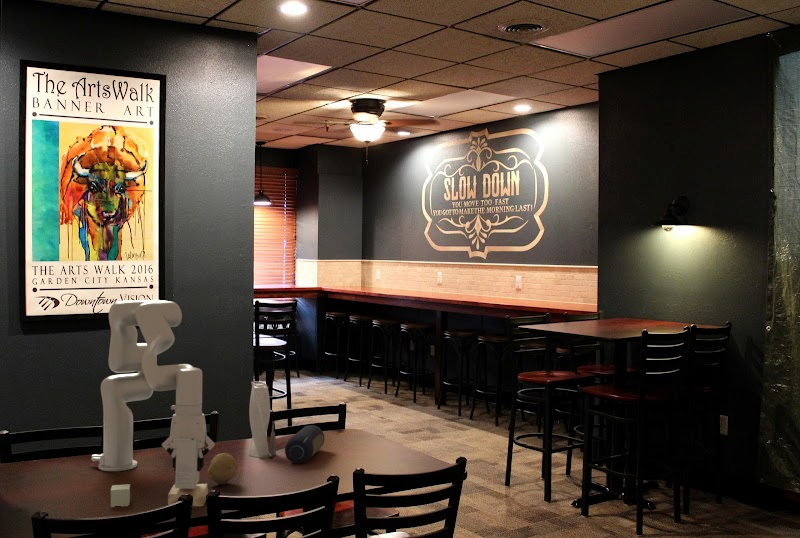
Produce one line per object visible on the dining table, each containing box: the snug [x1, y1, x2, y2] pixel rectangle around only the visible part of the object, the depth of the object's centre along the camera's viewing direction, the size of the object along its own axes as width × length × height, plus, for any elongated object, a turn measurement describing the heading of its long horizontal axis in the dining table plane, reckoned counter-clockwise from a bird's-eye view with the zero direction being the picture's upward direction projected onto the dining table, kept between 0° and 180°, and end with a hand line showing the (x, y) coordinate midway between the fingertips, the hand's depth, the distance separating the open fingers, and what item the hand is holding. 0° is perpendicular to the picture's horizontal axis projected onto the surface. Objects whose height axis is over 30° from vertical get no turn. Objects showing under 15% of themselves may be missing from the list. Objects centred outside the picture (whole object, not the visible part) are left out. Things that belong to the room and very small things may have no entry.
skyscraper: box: [248, 380, 277, 460], centre depth 287 cm, size 8×8×28 cm
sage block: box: [110, 483, 131, 508], centre depth 230 cm, size 5×5×5 cm
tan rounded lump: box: [206, 452, 238, 485], centre depth 250 cm, size 9×9×10 cm
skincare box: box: [174, 438, 200, 489], centre depth 233 cm, size 8×6×15 cm
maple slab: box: [167, 483, 209, 507], centre depth 233 cm, size 10×10×4 cm
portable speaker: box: [284, 424, 325, 465], centre depth 286 cm, size 25×10×10 cm, turn 172°
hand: (188, 469), depth 233 cm, fingers closed on skincare box, 6 cm apart
